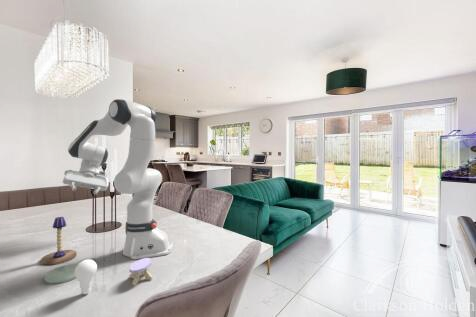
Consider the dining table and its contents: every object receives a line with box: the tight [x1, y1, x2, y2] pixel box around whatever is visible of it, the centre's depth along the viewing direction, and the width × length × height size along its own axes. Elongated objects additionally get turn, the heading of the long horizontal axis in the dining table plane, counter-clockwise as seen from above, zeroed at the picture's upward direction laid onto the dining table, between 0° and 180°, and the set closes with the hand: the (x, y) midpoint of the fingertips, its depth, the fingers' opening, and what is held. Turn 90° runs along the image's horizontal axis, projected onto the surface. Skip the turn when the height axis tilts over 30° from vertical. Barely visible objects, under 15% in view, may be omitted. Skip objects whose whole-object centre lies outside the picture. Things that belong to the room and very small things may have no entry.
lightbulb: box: [74, 259, 98, 295], centre depth 72 cm, size 6×6×11 cm
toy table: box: [128, 257, 154, 286], centre depth 82 cm, size 10×9×6 cm
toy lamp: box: [52, 216, 67, 258], centre depth 96 cm, size 5×5×17 cm
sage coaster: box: [44, 263, 79, 285], centre depth 83 cm, size 12×12×1 cm
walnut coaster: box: [40, 249, 77, 266], centre depth 96 cm, size 12×12×1 cm
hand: (84, 191), depth 113 cm, fingers open, 8 cm apart
